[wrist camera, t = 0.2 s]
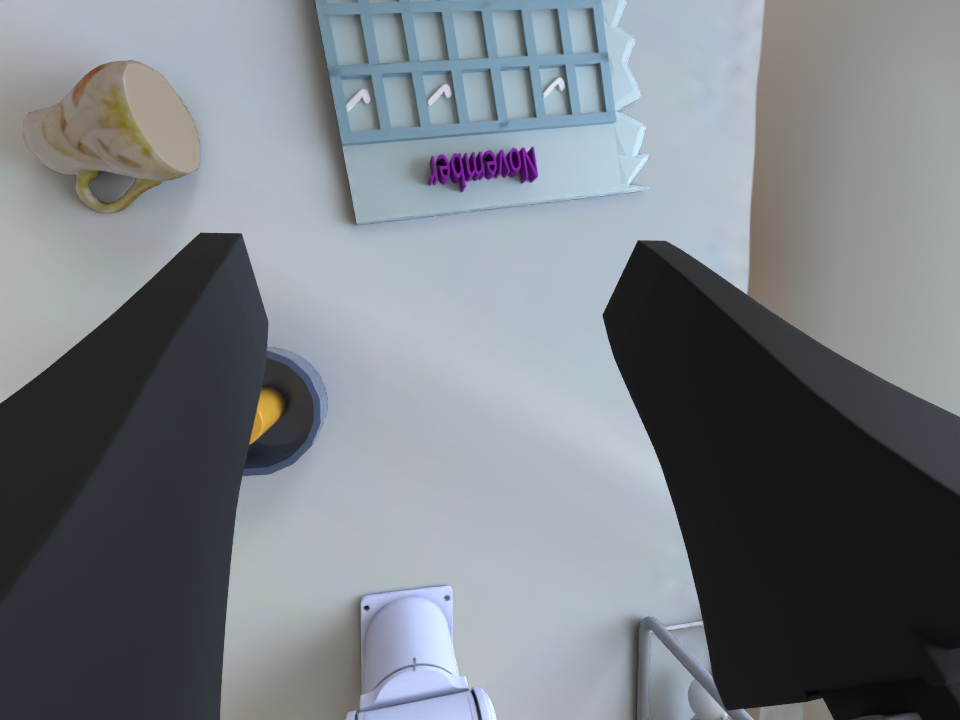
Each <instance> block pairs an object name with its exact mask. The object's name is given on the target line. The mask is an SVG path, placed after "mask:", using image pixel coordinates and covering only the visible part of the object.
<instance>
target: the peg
mask: <svg viewBox="0 0 960 720" xmlns="http://www.w3.org/2000/svg"><path fill="white" fill-rule="evenodd" d="M285 410H286V401H285V398H284V396H283V395H282V394H281V393H280V392H279V391H278V390H276V389H274V388H272V387H262V388H261V393H260V398H259V402H258V407H257V412H256V416H255V421H254V425H253V430H252V434H251V439H250V443H249V445H250V444H252V443H253V442H254V441H255V440H257V439H258V438H259V437H260V436H261V435H262V434H263V433H264V432H266V431H267V430H268V429H269V428H270V427H271V426H272V425H273V424H275V423H276V422H277V421H278V420H279V419H280V418H281V417H282V416H283V414H284V412H285Z"/></svg>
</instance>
